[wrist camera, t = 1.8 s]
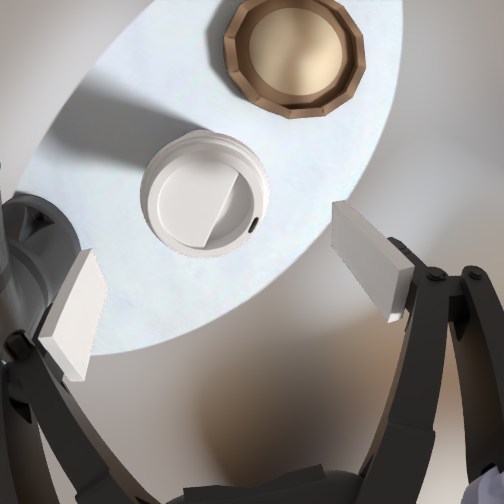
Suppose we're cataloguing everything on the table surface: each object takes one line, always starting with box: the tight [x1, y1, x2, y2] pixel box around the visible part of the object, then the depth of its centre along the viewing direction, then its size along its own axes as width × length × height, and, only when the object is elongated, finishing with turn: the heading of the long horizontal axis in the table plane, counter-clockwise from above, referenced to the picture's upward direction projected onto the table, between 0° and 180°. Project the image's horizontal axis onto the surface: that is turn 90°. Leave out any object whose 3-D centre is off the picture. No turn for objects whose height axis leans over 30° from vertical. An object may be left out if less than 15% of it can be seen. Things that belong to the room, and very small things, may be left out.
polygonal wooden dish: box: [223, 0, 366, 119], centre depth 27 cm, size 16×16×2 cm
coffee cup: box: [140, 129, 269, 258], centre depth 27 cm, size 10×10×15 cm
